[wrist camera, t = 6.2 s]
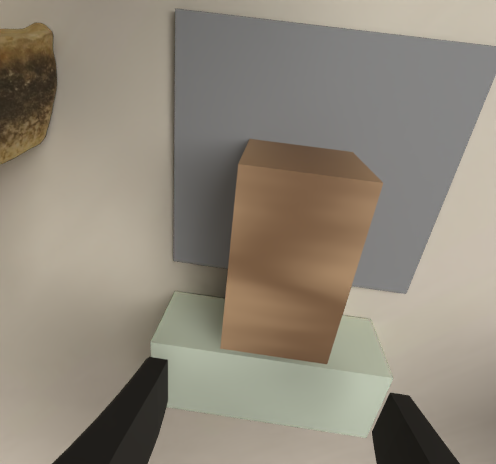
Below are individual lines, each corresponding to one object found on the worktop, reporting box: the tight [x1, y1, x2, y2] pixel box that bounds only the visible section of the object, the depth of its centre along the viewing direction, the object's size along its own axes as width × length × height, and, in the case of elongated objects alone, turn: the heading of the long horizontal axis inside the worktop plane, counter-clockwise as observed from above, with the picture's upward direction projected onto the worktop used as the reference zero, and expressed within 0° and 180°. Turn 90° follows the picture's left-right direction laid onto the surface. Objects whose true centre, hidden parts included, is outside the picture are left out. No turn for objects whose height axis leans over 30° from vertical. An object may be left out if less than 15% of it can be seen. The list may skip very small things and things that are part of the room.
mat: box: [174, 9, 496, 294], centre depth 13 cm, size 11×10×1 cm
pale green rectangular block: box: [150, 291, 393, 438], centre depth 16 cm, size 10×4×4 cm, turn 83°
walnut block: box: [220, 139, 383, 364], centre depth 12 cm, size 4×4×7 cm
